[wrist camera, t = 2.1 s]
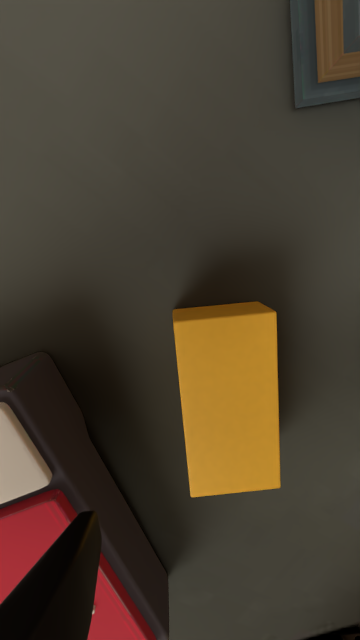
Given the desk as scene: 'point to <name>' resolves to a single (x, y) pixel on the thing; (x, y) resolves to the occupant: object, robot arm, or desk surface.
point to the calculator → (70, 503)
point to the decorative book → (325, 50)
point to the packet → (229, 396)
